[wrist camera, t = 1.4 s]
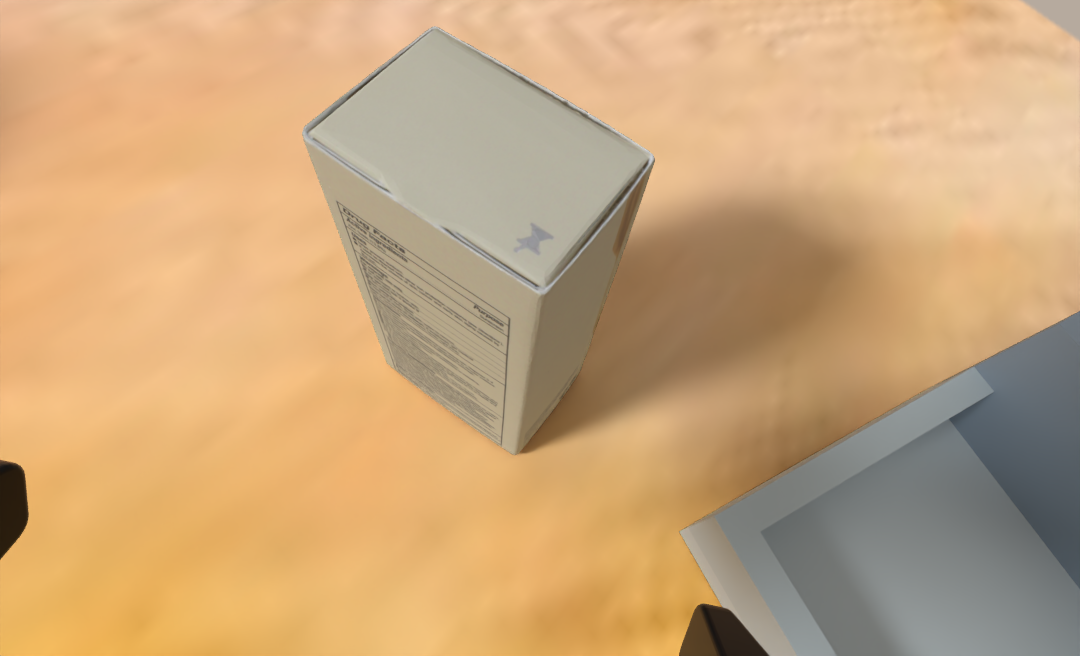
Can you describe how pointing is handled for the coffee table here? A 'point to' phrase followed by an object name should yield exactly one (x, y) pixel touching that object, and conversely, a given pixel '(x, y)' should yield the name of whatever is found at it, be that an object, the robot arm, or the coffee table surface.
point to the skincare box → (478, 226)
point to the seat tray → (922, 523)
